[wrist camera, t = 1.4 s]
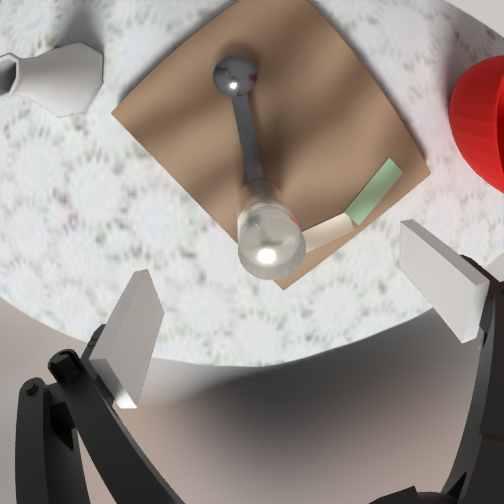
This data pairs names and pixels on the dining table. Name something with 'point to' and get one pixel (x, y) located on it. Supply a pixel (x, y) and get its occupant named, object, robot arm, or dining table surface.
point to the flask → (54, 78)
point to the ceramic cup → (481, 119)
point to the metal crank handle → (258, 188)
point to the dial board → (278, 125)
